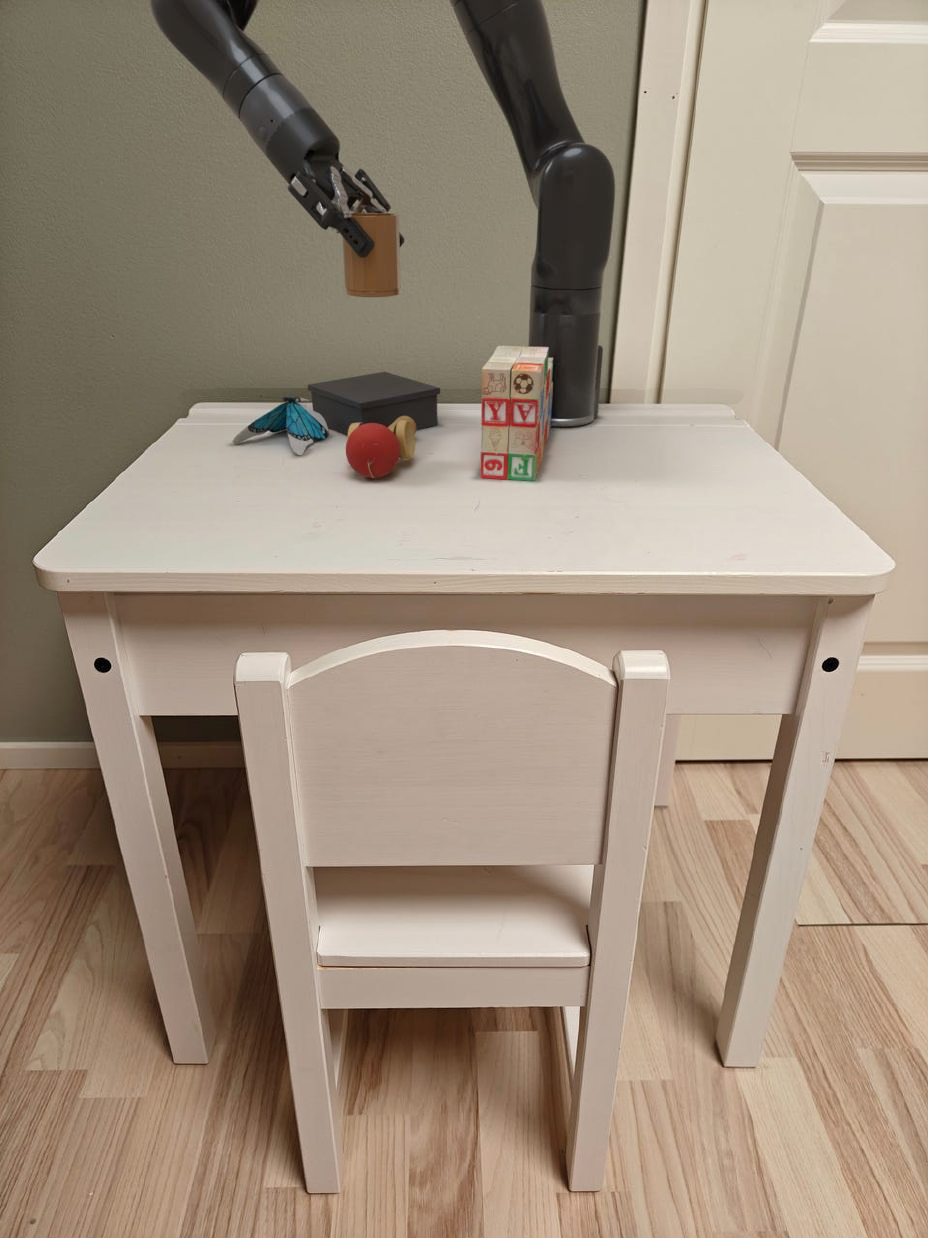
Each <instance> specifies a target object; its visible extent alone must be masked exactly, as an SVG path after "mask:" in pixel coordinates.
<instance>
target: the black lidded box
mask: <svg viewBox="0 0 928 1238" xmlns="http://www.w3.org/2000/svg"><path fill="white" fill-rule="evenodd" d="M307 391H308V392H311V404H312V410H313V411H315V412H318V413H319V414H320V415H321V416H322V417H323V418H324V420H325V422H326V424H327V427H328V429H330V430H332V431H333V430H334V431H335V432H337V433H341V434H342V435H345V436H348V430H349V427H350V425H351V424H352V423H359V422H362V423H364V424H367V423H377V424H381V425H384V426H386V427H387V428H388V427H389V426H390V425H391V424H392V423H394V422H395V420H396V419H397V418H399V417H401V416H408V417H410V418H412V419H413V420H414V422H415V424H416V431H419V430H422V429H427V428H431V427H436V426H438V395H440V394H441V388H440V387H438V386H434V385H431V384H429V383H425V382H421V381H418V380H414V379H411V378H408V377H404V376H401V375H398V374H394V373H391V372H389V371H381V372H375V373H369V374H368V373H367V374H363V375H357V376H350V377H345V378H339V379H334V380H327V381H321V382H315V383H309V384H307Z"/></svg>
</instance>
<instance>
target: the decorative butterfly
mask: <svg viewBox="0 0 928 1238" xmlns="http://www.w3.org/2000/svg"><path fill="white" fill-rule="evenodd" d="M259 398H263V395H261V396H259ZM267 398H268V399H271V398H273V399H278V398H279V399H281V400H282V401H283V402H282V403H280V404H279V405H277V406H276V407H274V408H273V409H271V410H270V411H268V412H266V413H265V414H263V415H262V416H260V417H258V418H257V419H255V420H254V421H253V422H251V423H250V424H249V425H247V426H246V427H245V428H243V429H242V430H241V431H240V432H239V433H238V434H236V436H235V437H233V439H232V444H240V443H243V442H244V441H247V440H249V439H251V438H253V437H257V436H261V435H263V434H266V433H267V432H269V433H281V432H283V431H286V432H287V436H288V441H289V445H290V447H291V449H292V451H293V452H294V453H295V454H296V455H298V456H302V455H303V454H304V452H305V450H306V448H307V447H308V446H309V445H311V444H313V443H314V440H316V441H324V440H326V439H327V438H328V436H329V428H328V427H327V424H326V422H325V420H324V418H323V417H322V416H321V415H320V414H319V413H318V412H315V411H313V409H311V408H309V407H308V406H307V405H306V404H304V403H307V402H310V399H307V398H303V397H297V396H288V397H286V396H283V397H280V396H279V397H275V396H274V397H270V396H269V397H268V396H266V399H267Z"/></svg>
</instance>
